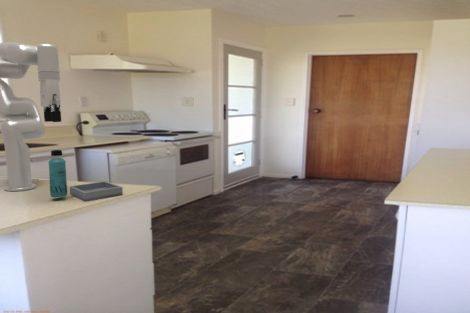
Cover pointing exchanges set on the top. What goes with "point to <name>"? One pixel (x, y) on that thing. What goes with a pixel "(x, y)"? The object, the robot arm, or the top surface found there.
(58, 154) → the beverage bottle
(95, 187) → the tray
